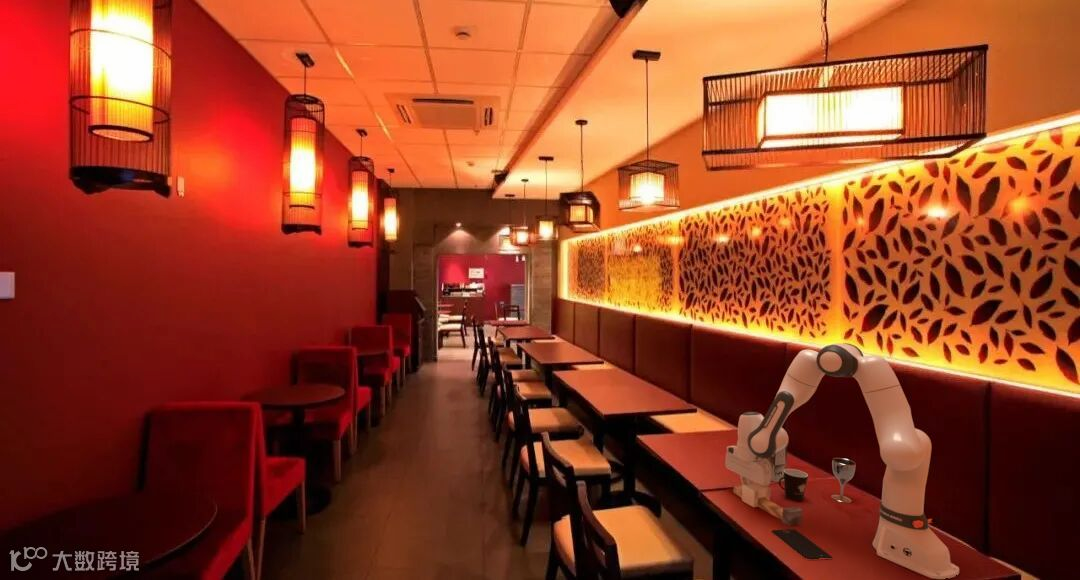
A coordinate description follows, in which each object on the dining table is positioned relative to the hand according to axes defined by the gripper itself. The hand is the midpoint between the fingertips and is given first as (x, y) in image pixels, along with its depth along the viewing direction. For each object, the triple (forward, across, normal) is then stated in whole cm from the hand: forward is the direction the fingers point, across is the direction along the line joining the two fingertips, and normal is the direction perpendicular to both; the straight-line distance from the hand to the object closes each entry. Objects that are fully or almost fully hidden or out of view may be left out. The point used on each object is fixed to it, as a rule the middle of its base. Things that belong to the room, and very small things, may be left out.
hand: (746, 488), depth 205 cm
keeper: (+4, -5, 0) cm, 6 cm away
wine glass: (+4, -12, -38) cm, 40 cm away
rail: (+4, -9, 0) cm, 10 cm away
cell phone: (+4, -34, +10) cm, 35 cm away
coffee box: (+4, +13, -28) cm, 31 cm away
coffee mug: (+4, -5, -18) cm, 19 cm away
